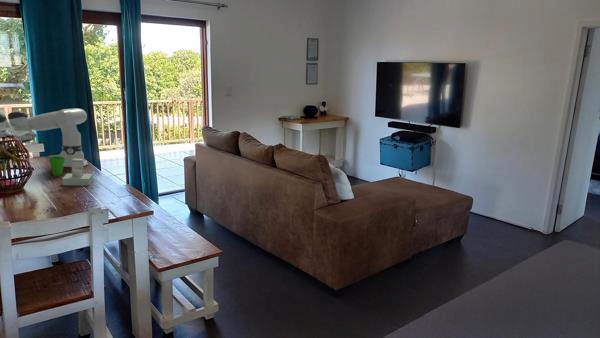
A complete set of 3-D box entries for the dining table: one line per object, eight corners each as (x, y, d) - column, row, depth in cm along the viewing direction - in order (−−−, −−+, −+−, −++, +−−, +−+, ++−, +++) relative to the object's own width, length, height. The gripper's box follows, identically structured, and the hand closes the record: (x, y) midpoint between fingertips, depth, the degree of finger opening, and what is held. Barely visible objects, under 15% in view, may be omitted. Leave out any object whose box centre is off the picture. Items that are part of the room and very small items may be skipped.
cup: (68, 174, 276) (68, 157, 274) (59, 177, 267) (59, 159, 265) (55, 172, 277) (54, 155, 275) (45, 175, 268) (45, 158, 266)
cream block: (73, 175, 259) (73, 158, 257) (83, 175, 261) (82, 158, 259) (72, 177, 254) (71, 160, 252) (81, 177, 256) (81, 160, 254)
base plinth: (67, 179, 262) (67, 173, 262) (92, 180, 266) (92, 173, 266) (62, 185, 250) (62, 178, 249) (89, 185, 254) (88, 178, 254)
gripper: (13, 138, 257) (39, 139, 261) (0, 143, 238) (29, 144, 242) (12, 127, 256) (39, 128, 260) (-1, 132, 236) (28, 133, 241)
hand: (34, 136), depth 251 cm, fingers open, 8 cm apart
